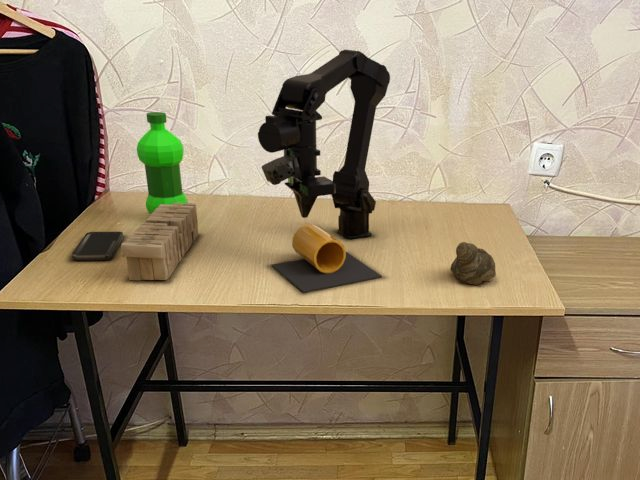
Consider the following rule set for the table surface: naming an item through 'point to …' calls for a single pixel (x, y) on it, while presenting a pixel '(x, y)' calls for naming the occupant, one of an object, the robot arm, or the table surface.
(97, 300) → the table surface
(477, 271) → the seashell
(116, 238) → the phone
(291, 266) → the mat
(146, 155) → the plastic bottle
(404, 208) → the table surface
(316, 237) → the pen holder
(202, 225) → the table surface
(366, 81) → the robot arm
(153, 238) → the block tower
